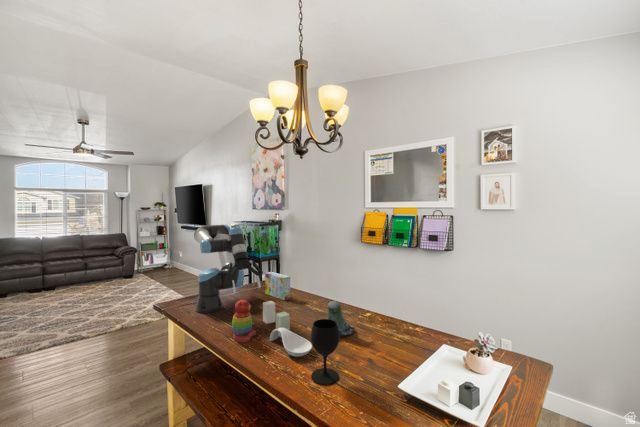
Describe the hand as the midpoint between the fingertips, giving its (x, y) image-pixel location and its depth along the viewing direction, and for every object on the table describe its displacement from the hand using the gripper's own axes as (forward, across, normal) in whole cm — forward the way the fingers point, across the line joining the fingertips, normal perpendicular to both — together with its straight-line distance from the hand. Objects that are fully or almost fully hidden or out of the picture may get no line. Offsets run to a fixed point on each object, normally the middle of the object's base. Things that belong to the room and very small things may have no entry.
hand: (247, 290), depth 160 cm
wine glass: (+48, +9, -47) cm, 67 cm away
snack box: (+1, +28, +36) cm, 45 cm away
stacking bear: (+23, -8, -7) cm, 26 cm away
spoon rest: (+35, +6, -24) cm, 43 cm away
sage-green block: (+27, +9, -12) cm, 31 cm away
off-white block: (+18, +9, +3) cm, 20 cm away
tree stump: (+34, +34, -20) cm, 52 cm away
